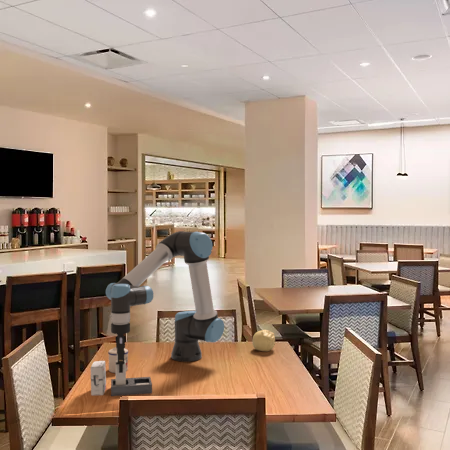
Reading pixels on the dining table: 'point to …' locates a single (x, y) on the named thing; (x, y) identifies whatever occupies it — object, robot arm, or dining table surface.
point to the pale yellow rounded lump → (263, 340)
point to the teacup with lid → (113, 358)
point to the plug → (123, 382)
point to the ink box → (98, 378)
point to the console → (132, 386)
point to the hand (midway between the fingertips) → (120, 375)
